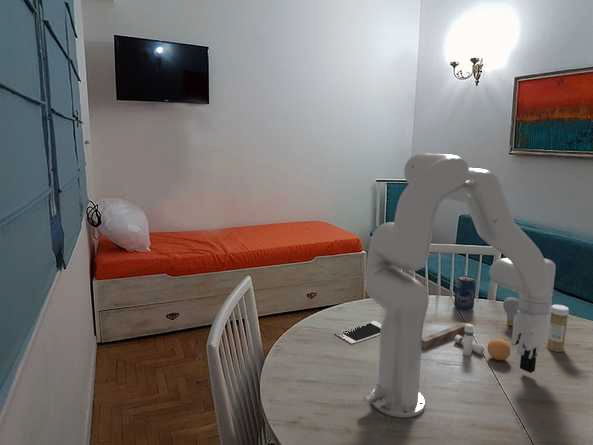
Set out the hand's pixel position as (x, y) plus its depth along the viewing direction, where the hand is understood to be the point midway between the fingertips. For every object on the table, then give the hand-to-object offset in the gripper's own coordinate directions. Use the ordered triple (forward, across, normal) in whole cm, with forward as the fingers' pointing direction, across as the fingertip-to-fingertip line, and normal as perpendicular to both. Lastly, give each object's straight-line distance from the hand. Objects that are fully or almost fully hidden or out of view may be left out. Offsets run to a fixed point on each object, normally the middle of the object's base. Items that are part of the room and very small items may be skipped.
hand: (527, 369), depth 116 cm
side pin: (+2, +3, -16) cm, 16 cm away
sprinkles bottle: (+2, -22, -3) cm, 22 cm away
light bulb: (+2, -27, -20) cm, 34 cm away
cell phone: (+2, +18, -44) cm, 48 cm away
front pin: (0, 0, -14) cm, 14 cm away
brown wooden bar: (+2, 0, -26) cm, 26 cm away
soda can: (+2, -27, -38) cm, 47 cm away
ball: (-2, -2, -9) cm, 10 cm away
